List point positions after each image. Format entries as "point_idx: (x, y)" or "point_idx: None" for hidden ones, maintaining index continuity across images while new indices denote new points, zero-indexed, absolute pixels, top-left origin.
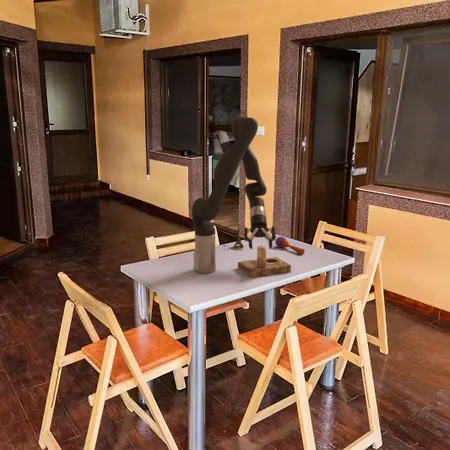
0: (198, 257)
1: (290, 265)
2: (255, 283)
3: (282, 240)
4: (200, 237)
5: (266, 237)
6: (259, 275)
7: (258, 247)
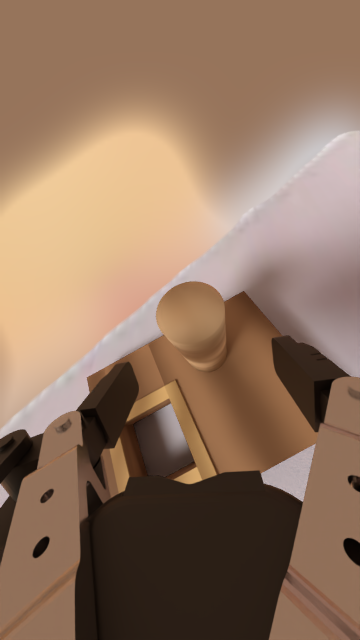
0: None
1: (89, 376)
2: (222, 263)
3: None
4: None
5: (102, 490)
6: None
7: (213, 298)
